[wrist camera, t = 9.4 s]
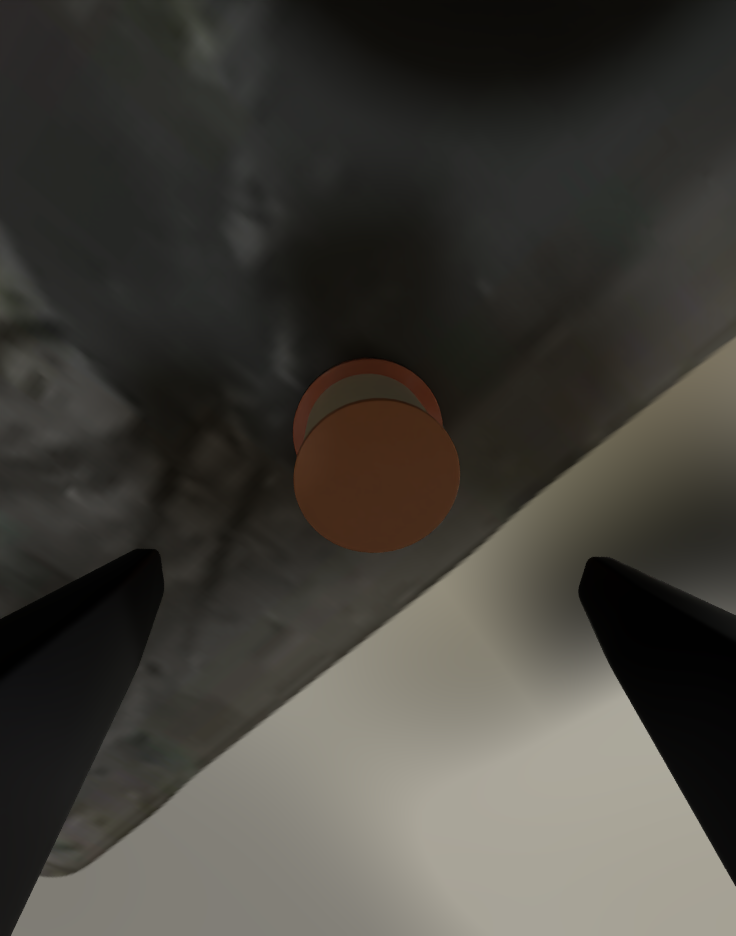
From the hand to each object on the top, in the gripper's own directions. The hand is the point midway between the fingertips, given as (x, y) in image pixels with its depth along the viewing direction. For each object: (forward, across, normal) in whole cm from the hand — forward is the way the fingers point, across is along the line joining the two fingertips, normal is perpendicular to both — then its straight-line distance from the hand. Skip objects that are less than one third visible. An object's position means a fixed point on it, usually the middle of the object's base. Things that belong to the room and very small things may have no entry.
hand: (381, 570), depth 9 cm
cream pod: (+9, 0, 0) cm, 9 cm away
